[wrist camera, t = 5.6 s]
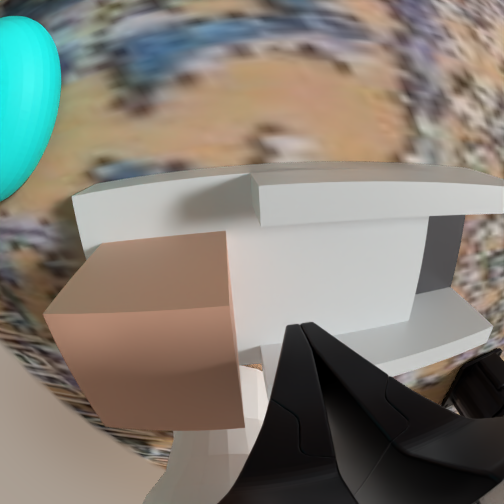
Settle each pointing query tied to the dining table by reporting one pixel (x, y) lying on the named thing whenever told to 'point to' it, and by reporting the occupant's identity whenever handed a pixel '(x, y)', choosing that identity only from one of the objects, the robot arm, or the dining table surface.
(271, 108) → the dining table surface
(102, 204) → the grey channel
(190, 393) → the terracotta cube
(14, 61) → the donuts
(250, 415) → the cup
